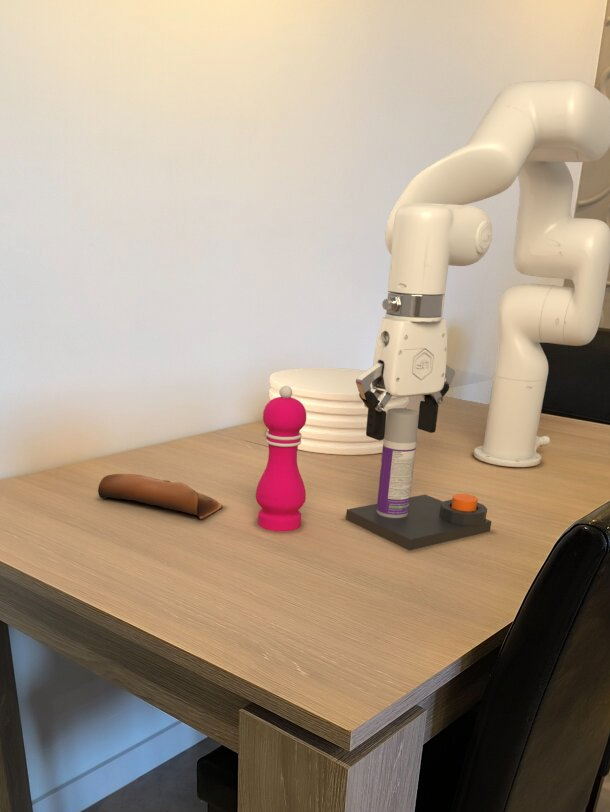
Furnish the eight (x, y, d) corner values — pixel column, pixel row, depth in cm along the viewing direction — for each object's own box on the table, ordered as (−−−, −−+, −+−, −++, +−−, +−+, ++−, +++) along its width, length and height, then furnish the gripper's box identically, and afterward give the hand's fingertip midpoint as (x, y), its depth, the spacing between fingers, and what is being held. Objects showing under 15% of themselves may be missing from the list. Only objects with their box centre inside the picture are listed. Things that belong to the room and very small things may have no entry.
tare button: (463, 503, 123) (465, 492, 122) (481, 510, 120) (483, 499, 120) (446, 507, 121) (447, 495, 121) (463, 514, 119) (465, 502, 118)
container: (373, 507, 124) (383, 407, 118) (404, 507, 125) (415, 408, 118) (379, 518, 120) (390, 414, 114) (411, 518, 120) (423, 415, 114)
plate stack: (287, 415, 185) (289, 363, 180) (412, 428, 179) (418, 374, 174) (250, 445, 160) (252, 385, 156) (393, 461, 154) (400, 399, 149)
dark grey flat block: (425, 504, 132) (427, 483, 131) (492, 532, 122) (496, 509, 120) (345, 520, 124) (347, 497, 122) (410, 551, 113) (413, 527, 112)
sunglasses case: (226, 503, 127) (215, 472, 121) (206, 537, 123) (194, 506, 118) (129, 483, 133) (114, 453, 128) (107, 515, 130) (92, 485, 125)
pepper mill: (299, 535, 117) (308, 392, 108) (249, 530, 118) (254, 388, 109) (307, 519, 123) (316, 383, 115) (260, 514, 124) (265, 378, 116)
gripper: (383, 312, 103) (371, 447, 110) (480, 308, 112) (463, 433, 119) (346, 305, 108) (336, 434, 115) (441, 302, 117) (427, 422, 124)
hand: (400, 434), depth 117 cm, fingers open, 9 cm apart
